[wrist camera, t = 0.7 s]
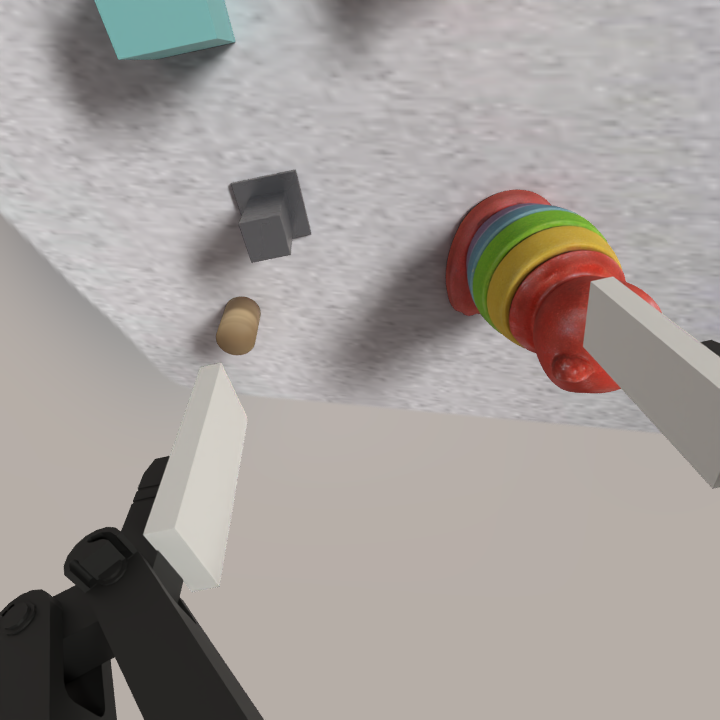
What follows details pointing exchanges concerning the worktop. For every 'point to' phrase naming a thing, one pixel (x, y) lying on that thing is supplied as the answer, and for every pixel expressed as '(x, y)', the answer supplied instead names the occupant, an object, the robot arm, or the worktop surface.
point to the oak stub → (238, 326)
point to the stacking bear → (534, 281)
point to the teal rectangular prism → (164, 26)
